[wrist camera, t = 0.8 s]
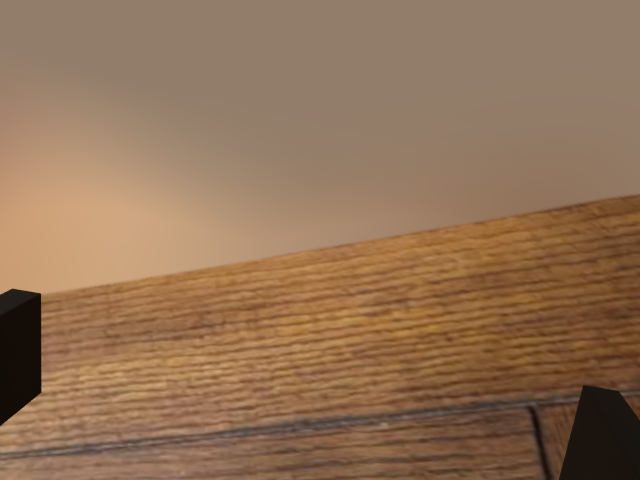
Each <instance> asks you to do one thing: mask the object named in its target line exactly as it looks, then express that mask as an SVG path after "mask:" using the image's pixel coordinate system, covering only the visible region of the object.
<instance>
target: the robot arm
mask: <svg viewBox="0 0 640 480" xmlns="http://www.w3.org/2000/svg"><path fill="white" fill-rule="evenodd" d="M40 393H41V294H40V293H35V292H29V291H22V290H17V289H11V290H9V291H7V292H5V293H3V294H1V295H0V426H1V425H2V424H3V423H5V422H6V421H7V420H8V419H9V418H11V417H12V416H13V415H14V414H16V413H17V412H18V411H19V410H20V409H22V408H23V407H24V406H25V405H27V404H28V403H29V402H30V401H31V400H33V399H34V398H35V397H36V396H38V395H39V394H40ZM559 480H640V420H639V419H638V417H637V416H636V415H635V413H634V412H633V410H632V409H631V408H630V406H629V405H628V403H627V402H626V401H625V399H624V398H623V397H622V395H621V394H620V392H619V391H615V390H609V389H603V388H597V387H591V386H586V385H583V389H582V392H581V396H580V400H579V404H578V408H577V412H576V416H575V420H574V423H573V427H572V431H571V435H570V439H569V443H568V447H567V451H566V454H565V458H564V462H563V466H562V470H561V474H560V478H559Z"/></svg>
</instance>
